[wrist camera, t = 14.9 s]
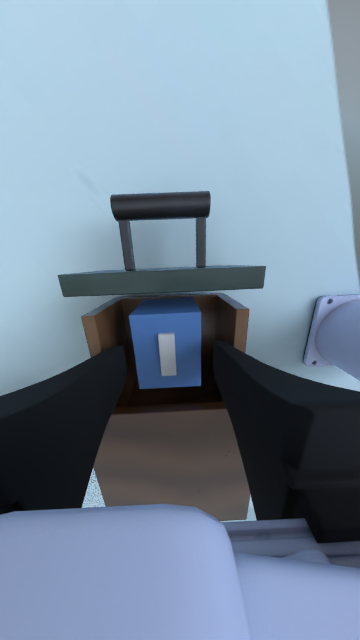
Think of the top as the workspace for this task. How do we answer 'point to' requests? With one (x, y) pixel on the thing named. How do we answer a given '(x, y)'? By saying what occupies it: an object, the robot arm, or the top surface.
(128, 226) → the drawer
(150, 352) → the tissue pack
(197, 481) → the cabinet
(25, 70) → the top surface
